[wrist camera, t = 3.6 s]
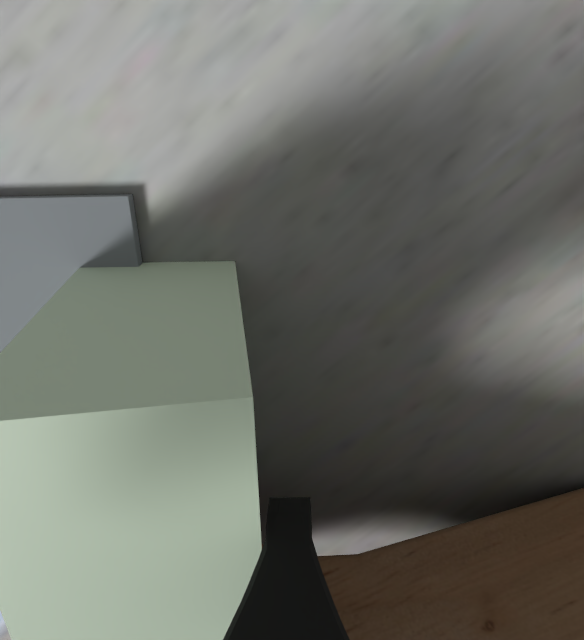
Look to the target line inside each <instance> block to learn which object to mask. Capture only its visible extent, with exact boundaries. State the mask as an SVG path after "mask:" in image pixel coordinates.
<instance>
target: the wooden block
mask: <svg viewBox="0 0 584 640" xmlns="http://www.w3.org/2000/svg"><path fill="white" fill-rule="evenodd" d="M263 545H264V544H262V548H263ZM317 557H318V560H319V563H320V566H321V569H322V572H323V575H324V577H325V580H326V583H327V585H328V588H329V591H330V593H331V596H332V599H333V602H334V604H335V606H336V609H337V611H338V614H339V616H340V619H341V621H342V623H343V626H344V628H345V630H346V632H347V635H348V637H349V639H350V640H584V488H582V489H578V490H575V491H572V492H568V493H565V494H561V495H558V496H555V497H551V498H548V499H544V500H541V501H537V502H534V503H531V504H527V505H524V506H520V507H517V508H514V509H510V510H507V511H503V512H500V513H497V514H493V515H490V516H486V517H483V518H480V519H476V520H473V521H469V522H466V523H463V524H459V525H456V526H452V527H449V528H446V529H442V530H439V531H435V532H432V533H428V534H425V535H422V536H418V537H415V538H411V539H408V540H405V541H401V542H398V543H394V544H391V545H388V546H384V547H381V548H377V549H374V550H371V551H367V552H364V553H360V554H354V555H334V556H317Z"/></svg>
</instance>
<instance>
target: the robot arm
mask: <svg viewBox="0 0 584 640" xmlns="http://www.w3.org/2000/svg"><path fill="white" fill-rule="evenodd" d="M223 640H350V639H349V637H348V635H347V632H346V630H345V628H344V626H343V623H342V621H341V619H340V616H339V614H338V611H337V609H336V606H335V604H334V602H333V599H332V596H331V593H330V591H329V588H328V585H327V583H326V580H325V577H324V575H323V572H322V569H321V566H320V563H319V560H318V557H317V554H316V551H315V547H314V544H313V540H312V525H311V504H310V497H297V498H270V499H269V507H268V515H267V525H266V539H265V542H264V545H263V548H262V550H261V553H260V556H259V559H258V561H257V564H256V566H255V569H254V571H253V574H252V576H251V579H250V581H249V584H248V586H247V589H246V591H245V593H244V596H243V598H242V600H241V603H240V605H239V607H238V609H237V611H236V613H235V615H234V617H233V619H232V622H231V624H230V626H229V628H228V630H227V632H226V634H225V636H224V638H223Z"/></svg>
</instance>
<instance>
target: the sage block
mask: <svg viewBox="0 0 584 640" xmlns="http://www.w3.org/2000/svg"><path fill="white" fill-rule="evenodd" d="M261 550H262V542H261V525H260V508H259V491H258V474H257V457H256V440H255V422H254V405H253V393H252V386H251V378H250V371H249V363H248V355H247V348H246V340H245V333H244V325H243V318H242V310H241V303H240V295H239V288H238V280H237V273H236V265H235V261H203V262H149V263H142V264H141V265H140V266H139V267H90V268H78V270H77V271H76V272H75V273H74V274H73V275H72V276H71V277H70V278H69V279H68V280H67V281H66V282H65V284H64V285H63V286H62V287H61V288H60V289H59V290H58V291H57V292H56V293H55V294H54V295H53V297H52V298H51V299H50V300H49V301H48V302H47V303H46V304H45V305H44V306H43V307H42V308H41V309H40V311H39V312H38V313H37V314H36V315H35V316H34V317H33V318H32V319H31V320H30V321H29V322H28V323H27V325H26V326H25V327H24V328H23V329H22V330H21V331H20V332H19V333H18V334H17V335H16V336H15V337H14V339H13V340H12V341H11V342H10V343H9V344H8V345H7V346H6V347H5V348H4V349H3V350H2V352H1V353H0V611H1V613H2V616H3V618H4V621H5V624H6V626H7V629H8V632H9V634H10V637H11V640H223V638H224V636H225V634H226V632H227V630H228V628H229V626H230V624H231V622H232V619H233V617H234V615H235V613H236V611H237V609H238V607H239V605H240V603H241V600H242V598H243V596H244V593H245V591H246V589H247V586H248V584H249V581H250V579H251V576H252V574H253V571H254V569H255V566H256V564H257V561H258V559H259V556H260V553H261Z"/></svg>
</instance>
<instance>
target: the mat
mask: <svg viewBox="0 0 584 640" xmlns="http://www.w3.org/2000/svg"><path fill="white" fill-rule="evenodd" d="M141 264H142V256H141V249H140V242H139V235H138V228H137V222H136V215H135V208H134V201H133V194H115V195H57V196H0V353H1V352H2V350H3V349H4V348H5V347H6V346H7V345H8V344H9V343H10V342H11V341H12V340H13V339H14V337H15V336H16V335H17V334H18V333H19V332H20V331H21V330H22V329H23V328H24V327H25V326H26V325H27V323H28V322H29V321H30V320H31V319H32V318H33V317H34V316H35V315H36V314H37V313H38V312H39V311H40V309H41V308H42V307H43V306H44V305H45V304H46V303H47V302H48V301H49V300H50V299H51V298H52V297H53V295H54V294H55V293H56V292H57V291H58V290H59V289H60V288H61V287H62V286H63V285H64V284H65V282H66V281H67V280H68V279H69V278H70V277H71V276H72V275H73V274H74V273H75V272H76V271H77V270H78V268H90V267H139V266H140V265H141Z"/></svg>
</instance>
